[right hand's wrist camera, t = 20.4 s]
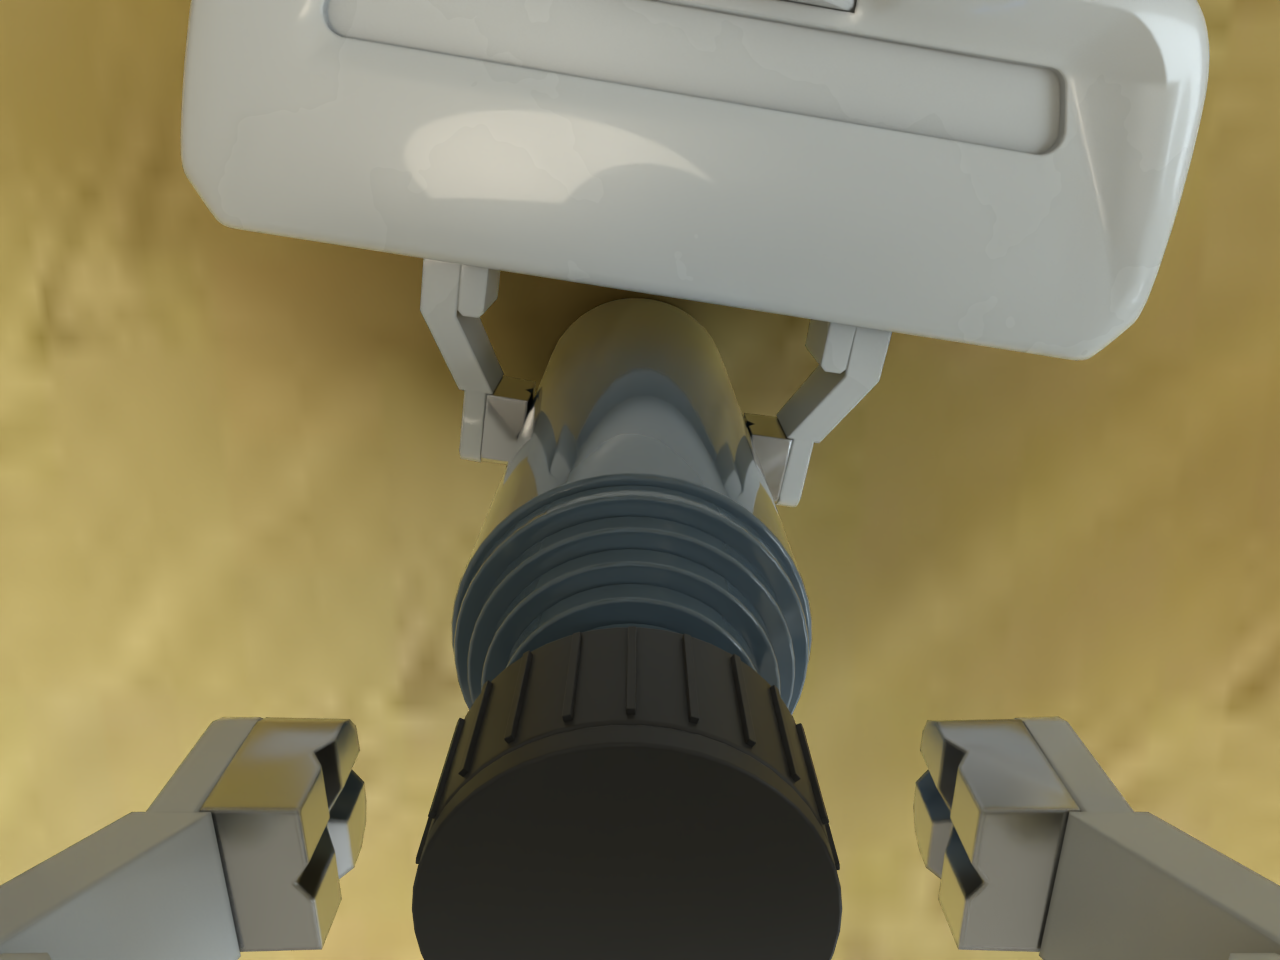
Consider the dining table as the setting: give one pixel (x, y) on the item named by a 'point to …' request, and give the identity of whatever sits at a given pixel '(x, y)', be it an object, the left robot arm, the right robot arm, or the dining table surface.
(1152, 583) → the dining table surface
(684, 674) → the cap
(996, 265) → the left robot arm
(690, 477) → the bottle
